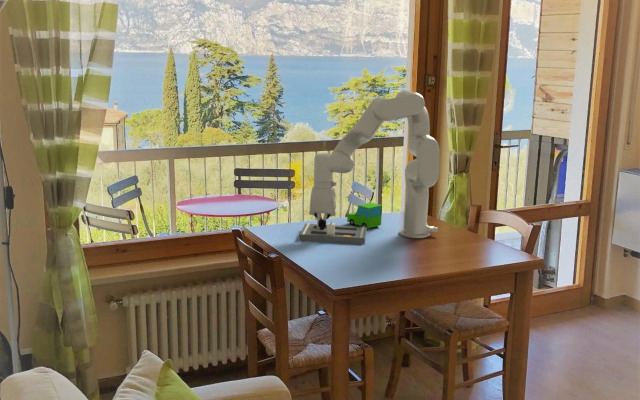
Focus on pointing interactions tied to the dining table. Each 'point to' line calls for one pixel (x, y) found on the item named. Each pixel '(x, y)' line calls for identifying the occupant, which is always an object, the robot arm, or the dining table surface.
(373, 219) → the toy car
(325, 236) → the switch board
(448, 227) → the dining table surface
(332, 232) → the tab
